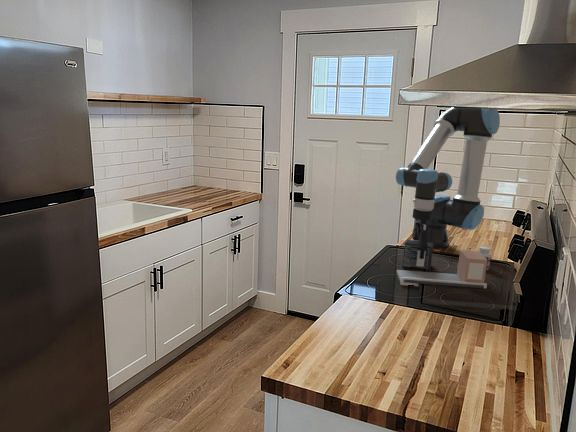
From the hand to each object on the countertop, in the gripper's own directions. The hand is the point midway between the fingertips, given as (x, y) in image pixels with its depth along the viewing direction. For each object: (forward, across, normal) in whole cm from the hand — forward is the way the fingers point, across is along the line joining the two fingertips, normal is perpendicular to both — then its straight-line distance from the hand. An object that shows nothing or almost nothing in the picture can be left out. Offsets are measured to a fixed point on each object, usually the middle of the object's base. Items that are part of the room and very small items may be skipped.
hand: (417, 260), depth 193 cm
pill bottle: (+3, -2, +26) cm, 26 cm away
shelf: (+3, +14, +6) cm, 15 cm away
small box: (+3, 0, 0) cm, 3 cm away
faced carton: (+2, +14, +17) cm, 22 cm away
